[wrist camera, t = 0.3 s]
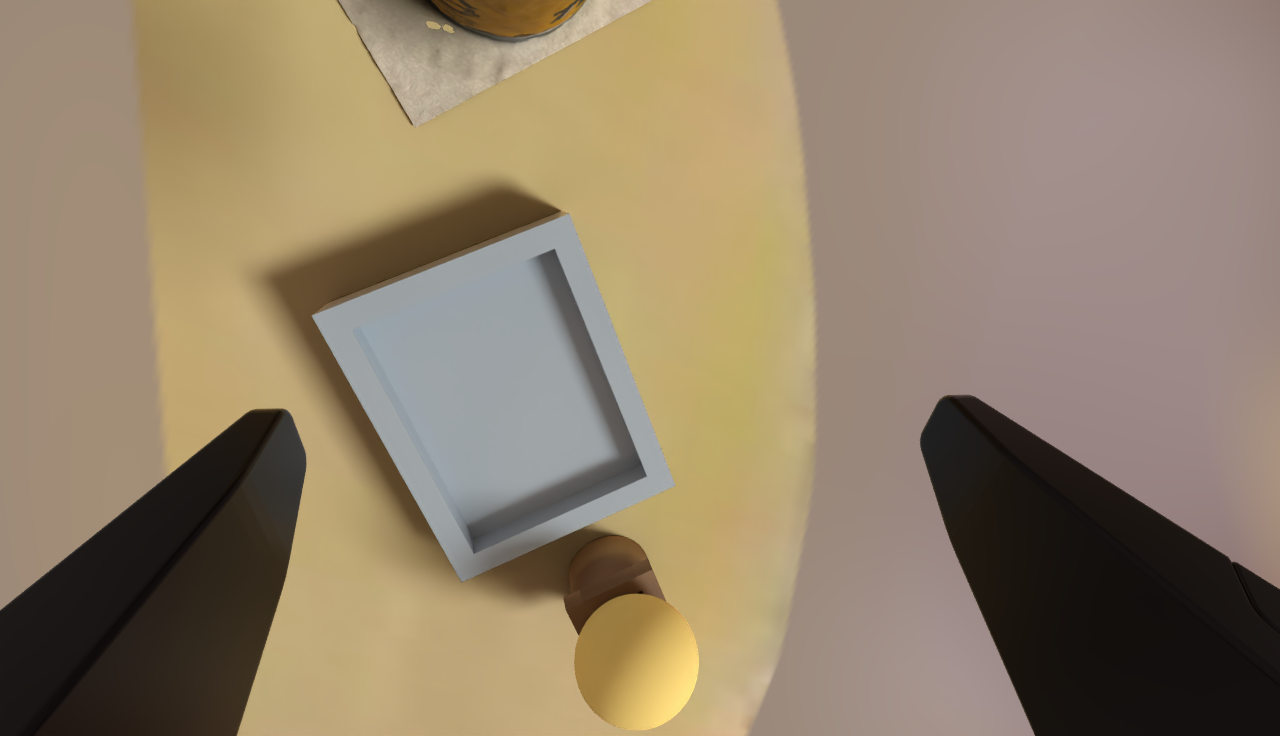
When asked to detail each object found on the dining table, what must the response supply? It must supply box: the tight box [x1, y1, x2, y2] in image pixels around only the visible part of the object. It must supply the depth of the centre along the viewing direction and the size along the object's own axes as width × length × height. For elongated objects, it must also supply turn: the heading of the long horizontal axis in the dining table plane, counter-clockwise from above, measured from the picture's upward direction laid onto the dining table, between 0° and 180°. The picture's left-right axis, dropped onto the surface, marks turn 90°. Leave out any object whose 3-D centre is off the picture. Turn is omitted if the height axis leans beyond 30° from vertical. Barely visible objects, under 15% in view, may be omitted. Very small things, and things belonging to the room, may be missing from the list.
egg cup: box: [564, 536, 666, 635], centre depth 24 cm, size 3×3×3 cm
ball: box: [574, 594, 699, 730], centre depth 21 cm, size 4×4×4 cm
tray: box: [312, 211, 675, 582], centre depth 21 cm, size 10×8×2 cm
